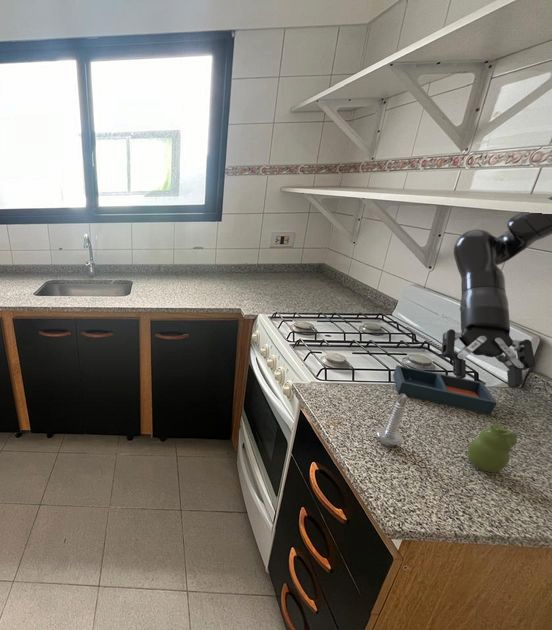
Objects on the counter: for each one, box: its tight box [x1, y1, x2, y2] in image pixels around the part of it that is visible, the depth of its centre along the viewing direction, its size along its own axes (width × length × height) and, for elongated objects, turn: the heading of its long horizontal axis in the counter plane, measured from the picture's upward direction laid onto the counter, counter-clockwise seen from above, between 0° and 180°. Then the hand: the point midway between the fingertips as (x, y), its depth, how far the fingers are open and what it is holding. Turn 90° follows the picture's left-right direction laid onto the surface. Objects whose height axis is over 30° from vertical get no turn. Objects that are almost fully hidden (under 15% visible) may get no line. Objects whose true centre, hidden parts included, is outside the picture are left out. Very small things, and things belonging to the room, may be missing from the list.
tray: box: [392, 364, 498, 416], centre depth 90 cm, size 18×10×4 cm, turn 62°
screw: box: [374, 394, 408, 448], centre depth 73 cm, size 13×5×5 cm
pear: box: [467, 423, 518, 473], centre depth 67 cm, size 6×5×10 cm
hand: (487, 382), depth 72 cm, fingers open, 8 cm apart
